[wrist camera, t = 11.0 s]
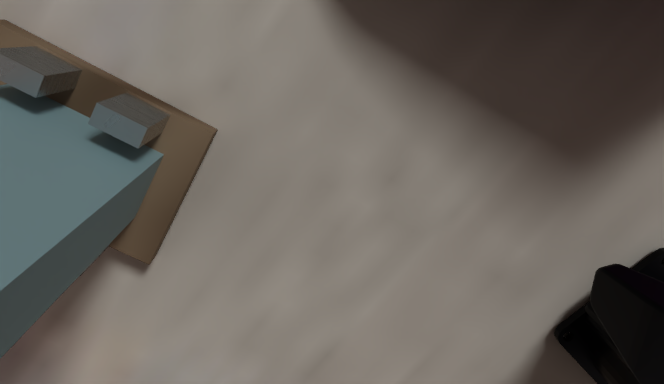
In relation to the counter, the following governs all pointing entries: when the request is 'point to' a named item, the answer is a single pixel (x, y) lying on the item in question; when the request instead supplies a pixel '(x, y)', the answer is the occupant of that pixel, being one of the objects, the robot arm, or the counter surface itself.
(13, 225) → the door
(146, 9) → the counter surface
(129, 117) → the brown base with posts
